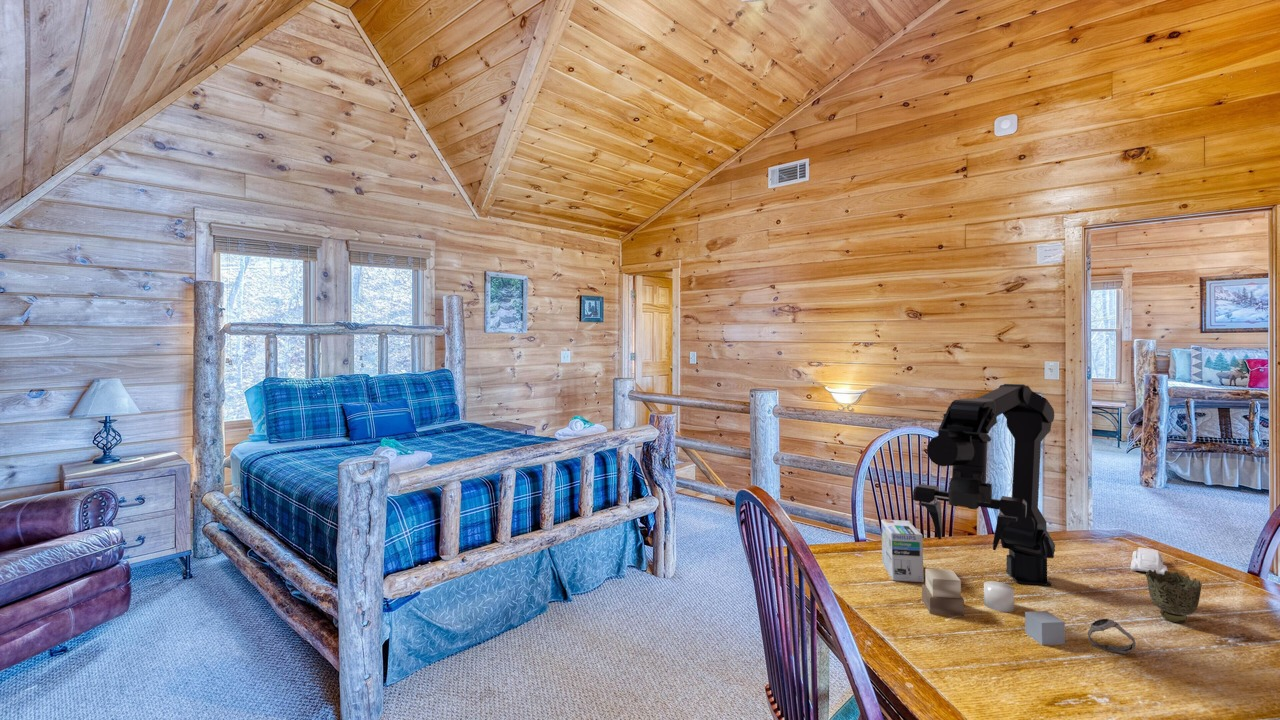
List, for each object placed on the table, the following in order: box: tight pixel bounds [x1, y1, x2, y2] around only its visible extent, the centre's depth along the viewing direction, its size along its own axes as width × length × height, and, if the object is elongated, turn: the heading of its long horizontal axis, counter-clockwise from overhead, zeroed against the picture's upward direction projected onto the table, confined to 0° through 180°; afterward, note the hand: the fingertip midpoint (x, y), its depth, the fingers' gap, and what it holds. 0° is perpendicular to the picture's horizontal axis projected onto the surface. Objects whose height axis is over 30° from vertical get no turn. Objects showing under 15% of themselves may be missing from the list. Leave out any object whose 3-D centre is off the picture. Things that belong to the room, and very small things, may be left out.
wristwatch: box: [1087, 618, 1137, 655], centre depth 93 cm, size 4×6×5 cm, turn 51°
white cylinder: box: [983, 580, 1015, 613], centre depth 109 cm, size 5×5×4 cm
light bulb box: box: [880, 519, 924, 583], centre depth 126 cm, size 11×7×11 cm, turn 168°
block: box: [1024, 610, 1066, 646], centre depth 97 cm, size 4×4×4 cm
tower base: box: [921, 583, 965, 618], centre depth 109 cm, size 6×6×4 cm
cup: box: [1145, 570, 1203, 624], centre depth 102 cm, size 8×7×8 cm
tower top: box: [924, 568, 962, 598], centre depth 109 cm, size 5×5×4 cm
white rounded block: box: [1130, 546, 1169, 575], centre depth 126 cm, size 12×6×5 cm, turn 139°
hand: (966, 544), depth 107 cm, fingers open, 9 cm apart
